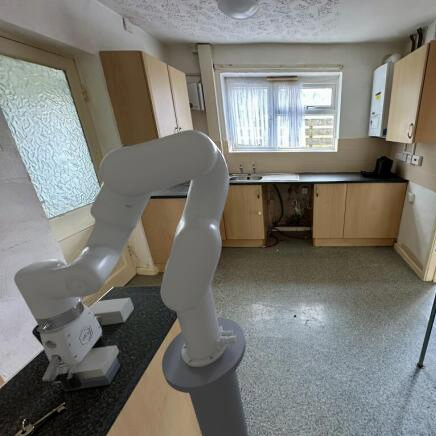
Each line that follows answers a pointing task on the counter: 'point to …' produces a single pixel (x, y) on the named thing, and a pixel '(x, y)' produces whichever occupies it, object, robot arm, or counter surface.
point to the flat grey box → (95, 362)
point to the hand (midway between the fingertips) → (88, 367)
